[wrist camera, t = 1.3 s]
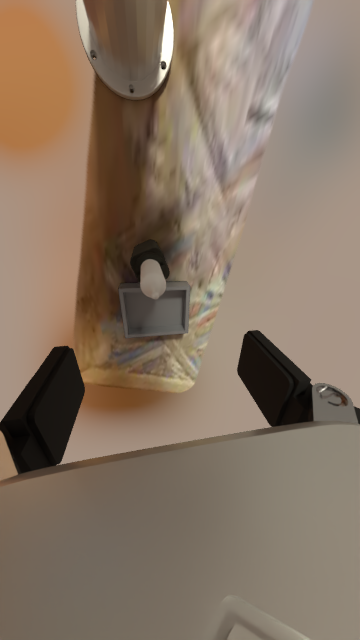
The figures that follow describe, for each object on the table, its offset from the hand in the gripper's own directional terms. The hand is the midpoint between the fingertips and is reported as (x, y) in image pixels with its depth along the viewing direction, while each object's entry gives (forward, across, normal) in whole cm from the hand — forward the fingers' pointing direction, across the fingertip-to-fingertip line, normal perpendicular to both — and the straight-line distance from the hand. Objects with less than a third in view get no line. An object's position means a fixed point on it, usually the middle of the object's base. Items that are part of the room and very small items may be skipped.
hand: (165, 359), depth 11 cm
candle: (+34, 0, -1) cm, 34 cm away
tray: (+34, -1, +11) cm, 36 cm away
